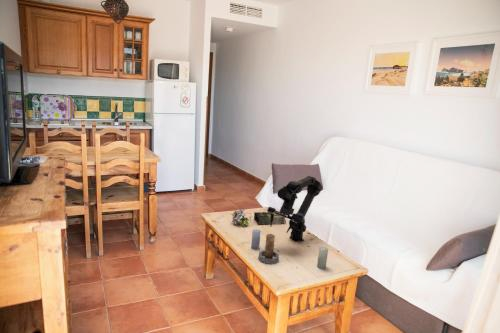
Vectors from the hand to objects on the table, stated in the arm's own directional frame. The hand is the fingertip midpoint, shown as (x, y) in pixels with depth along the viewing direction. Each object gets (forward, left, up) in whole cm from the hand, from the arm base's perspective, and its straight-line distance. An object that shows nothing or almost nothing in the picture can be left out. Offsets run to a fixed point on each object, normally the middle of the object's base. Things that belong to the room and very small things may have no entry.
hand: (278, 230), depth 189 cm
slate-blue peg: (+10, -6, -12) cm, 17 cm away
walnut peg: (+9, +8, -12) cm, 17 cm away
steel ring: (+9, +8, -12) cm, 17 cm away
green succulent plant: (+5, -40, -12) cm, 43 cm away
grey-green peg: (-14, +23, -12) cm, 29 cm away
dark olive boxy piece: (-15, -39, -12) cm, 44 cm away
